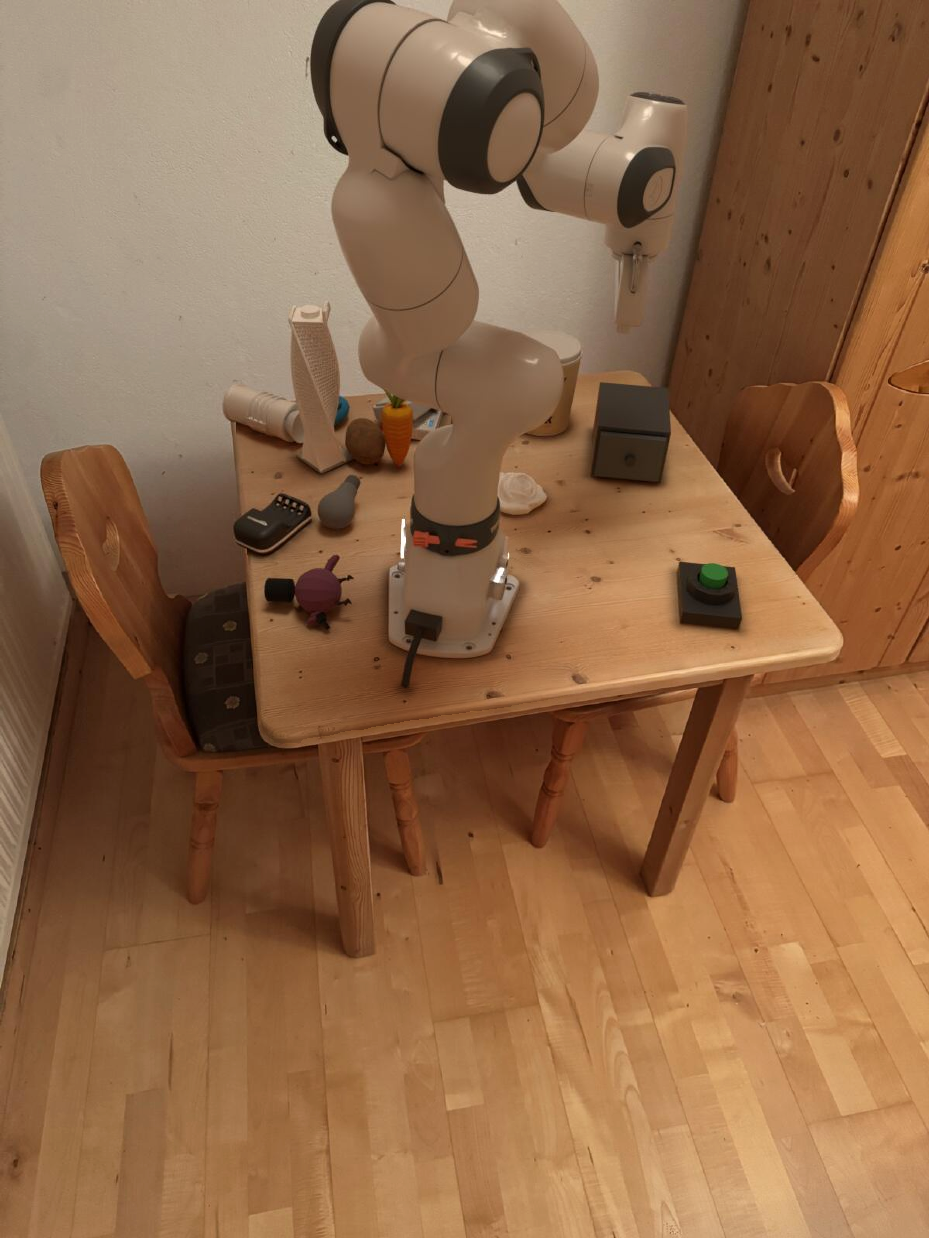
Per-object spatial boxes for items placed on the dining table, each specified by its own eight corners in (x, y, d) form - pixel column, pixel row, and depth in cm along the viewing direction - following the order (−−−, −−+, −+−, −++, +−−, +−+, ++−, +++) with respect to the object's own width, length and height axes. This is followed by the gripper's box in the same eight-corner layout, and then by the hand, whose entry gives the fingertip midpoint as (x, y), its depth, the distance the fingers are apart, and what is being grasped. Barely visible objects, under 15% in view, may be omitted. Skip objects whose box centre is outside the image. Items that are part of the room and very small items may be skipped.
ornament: (324, 416, 152) (282, 397, 156) (327, 438, 155) (287, 419, 160) (356, 394, 156) (315, 376, 161) (359, 417, 160) (319, 398, 164)
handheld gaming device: (408, 400, 150) (415, 422, 151) (451, 372, 160) (456, 392, 162) (367, 404, 154) (373, 425, 156) (410, 376, 165) (416, 396, 167)
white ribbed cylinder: (294, 453, 151) (227, 429, 157) (319, 431, 155) (252, 408, 161) (286, 420, 146) (217, 397, 152) (311, 398, 150) (243, 375, 156)
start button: (726, 590, 122) (729, 581, 121) (699, 587, 123) (702, 578, 121) (724, 574, 125) (726, 564, 124) (698, 571, 125) (700, 561, 124)
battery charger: (312, 500, 135) (262, 538, 128) (314, 520, 137) (265, 559, 130) (277, 485, 137) (225, 522, 130) (280, 505, 140) (229, 543, 133)
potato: (337, 415, 149) (343, 446, 154) (347, 445, 142) (352, 478, 147) (376, 407, 150) (381, 439, 154) (387, 438, 143) (391, 470, 148)
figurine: (262, 628, 120) (348, 632, 118) (253, 574, 116) (342, 577, 115) (281, 602, 127) (363, 605, 125) (274, 550, 123) (358, 553, 122)
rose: (486, 458, 144) (546, 459, 144) (485, 481, 147) (543, 481, 147) (488, 493, 136) (551, 494, 136) (486, 517, 139) (548, 518, 139)
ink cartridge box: (445, 399, 161) (392, 393, 162) (434, 430, 153) (378, 424, 154) (444, 411, 163) (392, 405, 164) (434, 443, 155) (379, 436, 156)
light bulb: (378, 488, 139) (351, 535, 134) (351, 491, 142) (324, 537, 137) (360, 462, 135) (331, 510, 130) (333, 465, 138) (304, 512, 133)
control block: (738, 629, 122) (745, 608, 119) (679, 623, 123) (685, 601, 120) (731, 578, 130) (738, 557, 127) (676, 572, 130) (681, 551, 128)
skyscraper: (360, 462, 149) (349, 299, 130) (321, 480, 145) (304, 315, 126) (329, 441, 154) (315, 281, 135) (290, 458, 149) (270, 296, 130)
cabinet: (660, 483, 148) (671, 432, 141) (590, 476, 148) (597, 425, 142) (658, 436, 158) (668, 387, 152) (592, 430, 159) (599, 381, 152)
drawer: (658, 486, 145) (666, 445, 140) (594, 480, 146) (600, 438, 141) (656, 439, 156) (664, 399, 151) (596, 433, 157) (602, 393, 151)
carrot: (377, 467, 149) (373, 385, 138) (396, 454, 152) (394, 374, 141) (400, 477, 147) (398, 395, 136) (419, 465, 150) (418, 383, 139)
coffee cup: (497, 428, 159) (502, 349, 149) (526, 400, 166) (532, 323, 156) (557, 446, 155) (566, 367, 145) (583, 417, 162) (594, 339, 152)
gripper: (664, 262, 111) (645, 364, 120) (659, 206, 125) (643, 302, 135) (613, 258, 111) (598, 360, 121) (614, 203, 126) (601, 298, 135)
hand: (622, 329), depth 128 cm, fingers closed
